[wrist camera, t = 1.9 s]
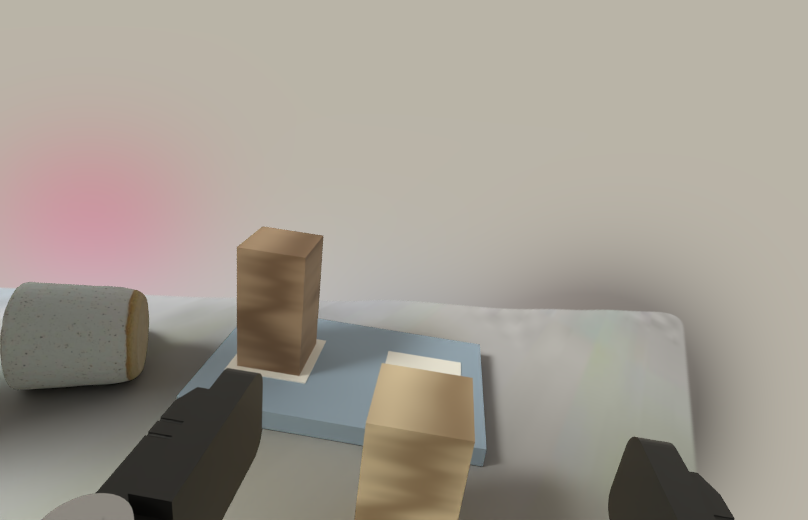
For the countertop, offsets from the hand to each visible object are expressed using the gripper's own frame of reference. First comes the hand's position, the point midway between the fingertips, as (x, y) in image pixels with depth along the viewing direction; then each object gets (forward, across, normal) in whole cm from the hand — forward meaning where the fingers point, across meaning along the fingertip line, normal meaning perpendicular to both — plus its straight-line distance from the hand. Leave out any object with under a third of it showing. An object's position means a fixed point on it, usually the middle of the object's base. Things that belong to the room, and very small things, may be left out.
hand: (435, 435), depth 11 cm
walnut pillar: (+26, +12, +16) cm, 33 cm away
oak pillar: (+12, 0, +18) cm, 22 cm away
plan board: (+26, +6, +18) cm, 32 cm away
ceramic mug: (+23, +26, +18) cm, 39 cm away
